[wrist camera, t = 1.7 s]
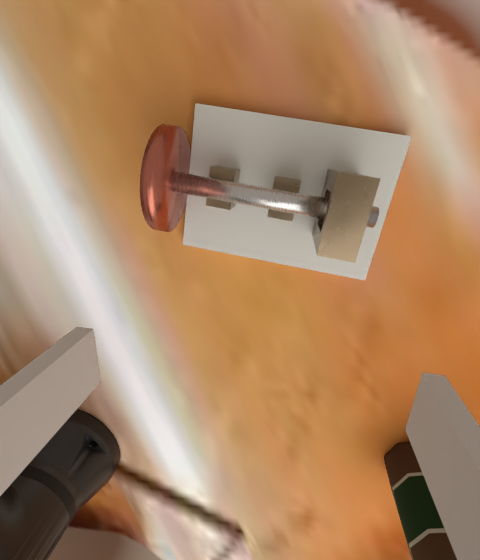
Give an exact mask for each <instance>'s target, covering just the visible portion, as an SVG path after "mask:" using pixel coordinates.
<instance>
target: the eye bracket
mask: <svg viewBox="0 0 480 560" xmlns="http://www.w3.org/2000/svg"><path fill="white" fill-rule="evenodd" d="M209 177H210V178H215V179H221V180H227V181H232V182H238V183H239V177H240V169H234V168H228V167H222V166H210V171H209ZM379 183H380V178H375V177H370V176H366V175H361V174H356V173H350V172H344V171H338V170H332V169H328V170H327V174H326V178H325V182H324V187H323V191H322V195H321V197H324V198H329V202H328V206H327V210H326V214H325V218H324V219H320V218H316V219H315V224H314V228H313V232H312V236H313V241H314V245H315V249H316V254H317V256H322V257H327V258H332V259H338V260H343V261H348V262H353V263H355V261H356V258H357V255H358V251H359V248H360V245H361V242H362V238H363V235H364V232H365V228H366V225H367V222H368V219H369V215H370V212H371V209H372V206H373V202H374V199H375V196H376V192H377V189H378V186H379ZM300 185H301V180H298V179H292V178H287V177H281V176H275V178H274V183H273V188H272V189H278V190H284V191H289V192H295V193H299V189H300ZM235 204H236V203H232V202H226V201H221V200H215V199H210V198H206V206H211V207H216V208H222V209H227V210H231V209H232V208H233V207H235ZM267 217H271V218H276V219H282V220H287V221H293V217H294V214H292V213H287V212H281V211H276V210H270V209H269V210H268V215H267Z"/></svg>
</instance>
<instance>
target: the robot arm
mask: <svg viewBox="0 0 480 560" xmlns="http://www.w3.org/2000/svg"><path fill="white" fill-rule="evenodd" d="M100 382H101V380H100V372H99V365H98V358H97V351H96V344H95V337H94V329H90V328H82V327H76V328H75V329H73V330H72V331H71V332H70V333H68V334H67V335H66V336H64V337H63V338H62V339H60V340H59V341H58V342H56V343H55V344H54V345H52V346H51V347H50V348H49V349H47V350H46V351H45V352H43V353H42V354H41V355H39V356H38V357H37V358H35V359H34V360H33V361H32V362H30V363H29V364H28V365H26V366H25V367H24V368H22V369H21V370H20V371H18V372H17V373H16V374H15V375H13V376H12V377H11V378H9V379H8V380H7V381H5V382H4V383H3V384H1V385H0V560H48V558H49V556H50V555H51V553H52V552H53V550H54V548H55V547H56V545H57V543H58V542H59V540H60V539H61V537H62V535H63V533H64V532H65V530H66V529H67V527H68V525H69V524H70V522H71V520H72V519H73V517H74V516H75V514H76V513H77V511H78V510H79V509H80V508H81V507H82V506H83V505H84V504H86V503H87V502H88V501H89V500H90V499H91V498H92V497H93V496H94V495H95V494H96V493H97V492H98V491H99V490H100V489H101V488H102V487H103V486H105V485H106V484H107V483H108V481H109V480H110V479H111V477H112V475H113V474H114V472H115V470H116V469H117V467H118V465H119V462H120V451H119V447H118V444H117V442H116V440H115V438H114V437H113V435H112V434H111V432H110V431H109V430H108V429H107V428H106V427H105V426H104V425H103V424H102V423H101V422H99V421H98V420H97V419H95V418H94V417H92V416H90V415H88V414H86V413H84V412H82V411H79V410H77V409H78V407H79V406H80V405H81V404H82V403H83V402H84V401H85V399H86V398H87V397H88V396H89V395H90V394H91V393H92V391H93V390H94V389H95V388H96V387H97V386H98V385H99V383H100ZM405 430H406V433H407V435H408V438H409V440H410V443H411V445H412V448H413V450H414V453H415V455H416V458H417V461H418V463H419V466H420V468H421V471H422V473H423V476H424V478H425V481H426V483H427V486H428V488H429V491H430V493H431V496H432V498H433V501H434V503H435V506H436V508H437V511H438V513H439V516H440V518H441V521H442V523H443V526H444V528H445V531H446V533H447V536H448V538H449V541H450V543H451V546H452V548H453V551H454V553H455V556H456V558H457V560H480V426H479V425H478V423H477V422H476V420H475V419H474V417H473V416H472V414H471V413H470V411H469V410H468V409H467V407H466V406H465V404H464V403H463V401H462V400H461V398H460V397H459V395H458V394H457V392H456V391H455V389H454V388H453V387H452V385H451V384H450V382H449V381H448V379H447V378H446V376H445V375H437V374H430V373H422V376H421V379H420V383H419V386H418V389H417V393H416V396H415V399H414V402H413V406H412V409H411V412H410V415H409V419H408V422H407V425H406V429H405Z"/></svg>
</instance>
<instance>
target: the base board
mask: <svg viewBox="0 0 480 560" xmlns="http://www.w3.org/2000/svg"><path fill="white" fill-rule="evenodd" d="M411 137H412V136H406V135H400V134H393V133H387V132H380V131H374V130H367V129H360V128H354V127H347V126H341V125H334V124H328V123H321V122H315V121H308V120H302V119H295V118H289V117H282V116H276V115H269V114H263V113H256V112H250V111H243V110H237V109H230V108H224V107H217V106H211V105H204V104H198V103H195V113H194V125H193V136H192V147H191V158H190V169H189V174H193V175H198V176H204V177H209V171H210V166H222V167H228V168H234V169H240V177H239V183H244V184H249V185H255V186H261V187H267V188H273V183H274V178H275V176H281V177H287V178H292V179H298V180H301V185H300V189H299V193H301V194H306V195H312V196H318V197H321V195H322V191H323V187H324V182H325V178H326V174H327V170H328V169H332V170H338V171H344V172H350V173H356V174H361V175H366V176H370V177H375V178H380V183H379V186H378V189H377V192H376V196H375V199H374V202H373V206H375V207H379V216H378V220H377V222H376V225H375V226H374V227H373V228H369V227H366V228H365V232H364V235H363V238H362V242H361V245H360V248H359V251H358V255H357V258H356V261H355V263H353V262H348V261H343V260H338V259H332V258H327V257H322V256H317V254H316V249H315V245H314V241H313V236H312V232H313V228H314V224H315V219H316V218H314V217H309V216H303V215H298V214H294V217H293V221H287V220H282V219H276V218H271V217H267V215H268V210H269V209H265V208H259V207H254V206H248V205H243V204H237V203H236V204H235V207H233V208H232V209H231V210H227V209H222V208H216V207H211V206H206V198H204V197H199V196H193V195H188V194H187V203H186V214H185V225H184V237H183V245H188V246H193V247H198V248H203V249H208V250H213V251H218V252H223V253H228V254H233V255H238V256H243V257H249V258H254V259H259V260H264V261H269V262H274V263H279V264H284V265H289V266H294V267H299V268H304V269H309V270H314V271H320V272H325V273H330V274H335V275H340V276H345V277H350V278H355V279H360V280H365V279H366V276H367V273H368V270H369V267H370V264H371V260H372V257H373V254H374V251H375V248H376V245H377V242H378V239H379V236H380V233H381V230H382V227H383V224H384V220H385V217H386V214H387V211H388V208H389V205H390V202H391V199H392V196H393V193H394V190H395V187H396V184H397V180H398V177H399V174H400V171H401V168H402V165H403V162H404V159H405V156H406V153H407V150H408V147H409V143H410V140H411Z"/></svg>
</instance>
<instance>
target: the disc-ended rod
mask: <svg viewBox="0 0 480 560" xmlns="http://www.w3.org/2000/svg"><path fill="white" fill-rule="evenodd" d="M190 158H191V154H190V146H189V142H188V138H187V135H186V133H185V131H184V130H183V129H182V128H181V127H178V126H171V125H164V124H163V125H160V126H158V127H157V128H156V129H155V130H154V132H153V133H152V135H151V137H150V139H149V141H148V144H147V146H146V149H145V153H144V157H143V162H142V167H141V177H140V199H141V206H142V211H143V215H144V218H145V220H146V222H147V224H148V225H149V226H150V227H151V228H152V229H155V230H160V231H165V232H170V231H172V230H173V229H174V228H175V227H176V226H177V225H178V223H179V221H180V219H181V217H182V215H183V212H184V209H185V206H186V202H187V194H188V195H193V196H199V197H204V198H210V199H215V200H221V201H226V202H232V203H237V204H243V205H248V206H254V207H259V208H265V209H270V210H276V211H281V212H287V213H292V214H298V215H303V216H309V217H314V218H320V219H324V218H325V214H326V210H327V206H328V202H329V198H324V197H318V196H312V195H306V194H301V193H295V192H289V191H284V190H278V189H272V188H267V187H261V186H255V185H249V184H244V183H238V182H232V181H227V180H221V179H215V178H210V177H204V176H198V175H193V174H189V169H190ZM378 216H379V207H375V206H372V209H371V212H370V215H369V219H368V222H367V225H366V227H369V228H373V227H374V226H375V225H376V222H377V220H378Z"/></svg>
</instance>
